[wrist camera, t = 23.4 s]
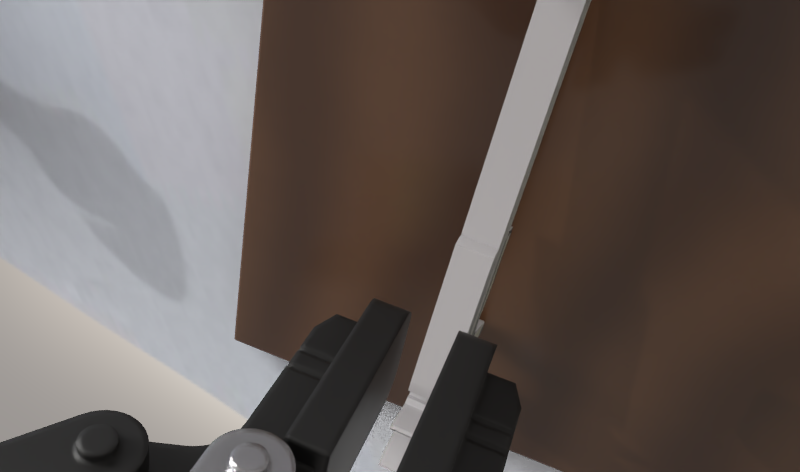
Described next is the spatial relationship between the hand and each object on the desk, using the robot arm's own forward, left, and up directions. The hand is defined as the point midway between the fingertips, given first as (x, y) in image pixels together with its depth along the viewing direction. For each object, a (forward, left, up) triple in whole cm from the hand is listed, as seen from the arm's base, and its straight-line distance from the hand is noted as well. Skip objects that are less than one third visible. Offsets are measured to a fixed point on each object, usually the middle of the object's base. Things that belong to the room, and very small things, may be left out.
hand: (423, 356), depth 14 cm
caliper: (0, +2, -9) cm, 9 cm away
